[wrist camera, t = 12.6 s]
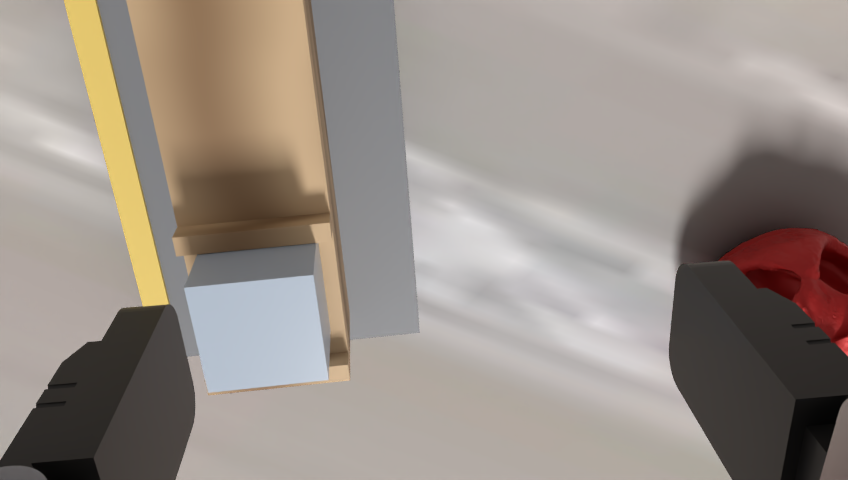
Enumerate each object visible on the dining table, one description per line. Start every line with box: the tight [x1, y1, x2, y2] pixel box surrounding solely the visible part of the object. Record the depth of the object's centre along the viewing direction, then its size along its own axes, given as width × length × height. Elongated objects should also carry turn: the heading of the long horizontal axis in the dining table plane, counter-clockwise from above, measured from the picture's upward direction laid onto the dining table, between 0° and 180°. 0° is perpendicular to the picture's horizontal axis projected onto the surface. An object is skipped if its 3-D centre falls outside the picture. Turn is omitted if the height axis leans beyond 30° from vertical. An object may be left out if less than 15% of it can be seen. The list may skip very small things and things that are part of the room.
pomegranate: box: [719, 228, 848, 356], centre depth 39 cm, size 10×10×9 cm
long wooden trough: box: [126, 0, 350, 395], centre depth 29 cm, size 6×30×6 cm, turn 4°
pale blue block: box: [184, 243, 331, 393], centre depth 30 cm, size 5×5×4 cm
